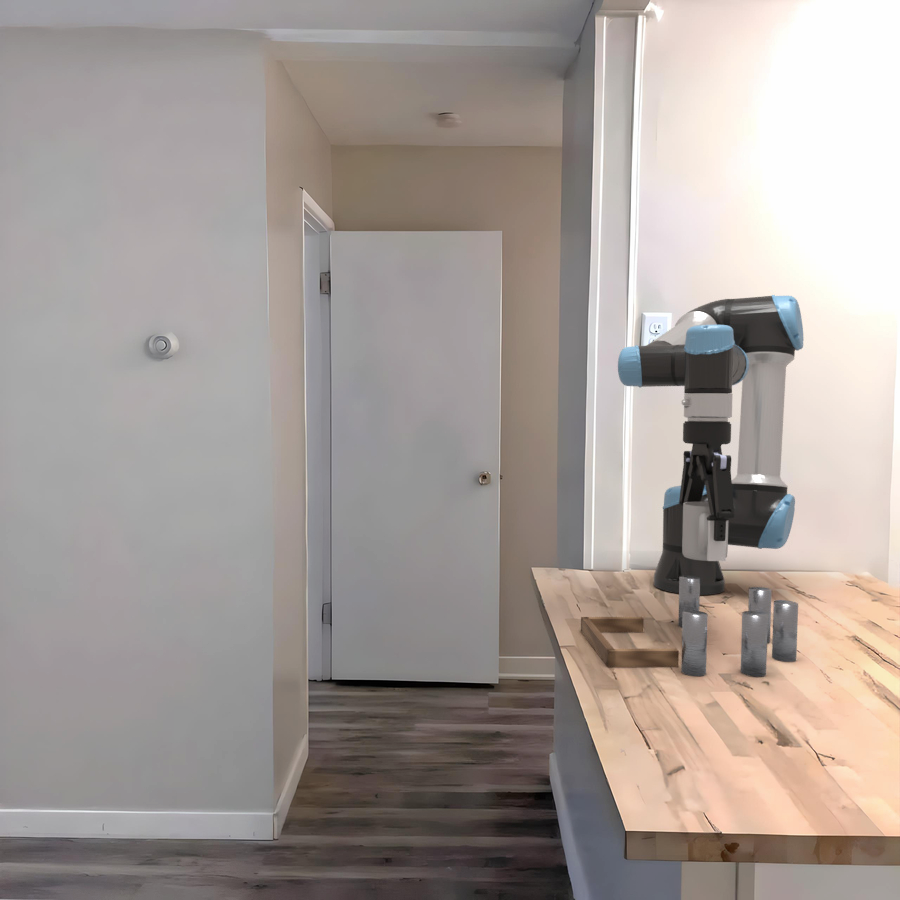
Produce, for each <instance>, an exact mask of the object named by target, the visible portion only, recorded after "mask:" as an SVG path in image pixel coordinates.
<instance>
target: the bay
mask: <svg viewBox="0 0 900 900" xmlns="http://www.w3.org/2000/svg"><path fill="white" fill-rule="evenodd" d="M644 620H645V619H644V617H643V616H581V617H580V632H582V634H583V635H584V637H585V638H586V640H587V639H588V640H587V641H588V643H591V644H590V645H591V646H592V648H593V647H594V648H593V649H594V650H595V652H596V651H597V652H596V653H597V655H598V656H599V657H600V658H601V660H602V661H603V663H604V664H605V666H606V667H607V668H665V667H666V668H668V667H669V668H672V667H673V668H674V667H677V668H678V667H679V661H680V659H679V656H680V655H679V654H680V652H679V651H680V650H679V649H677V648H676V647H675V648H671V647H670V648H669V647H668V648H667V647H666V648H659V647H658V648H614V647H613V646H612V644H611V643H610V642H609V640H608V639H607V638H606V637H605V636H604V635H603V634H602V633H644V625H645V624H644V623H645V621H644Z"/></svg>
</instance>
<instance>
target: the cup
mask: <svg viewBox="0 0 900 900" xmlns="http://www.w3.org/2000/svg"><path fill="white" fill-rule="evenodd" d="M709 515H711V514H710V509H709V503H708V502H685V503H683V538H682V553H683V555H684V557H686V558H689V559H694V560H702V561H708V560H707V547H708V520H707V517H708V516H709ZM728 548H729V545H728V521H727V528H726V558H727V557H728Z"/></svg>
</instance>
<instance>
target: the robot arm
mask: <svg viewBox="0 0 900 900" xmlns="http://www.w3.org/2000/svg"><path fill="white" fill-rule="evenodd" d="M804 338H805V337H804V327H803V317H802V313H801V308H800V305H799V302H798V300H797V298H796V297H794V296H792V295H775V294H772V295H767V296H765V295H764V296H755V297H754V296H753V297H741V298H725V299H718V300H714V301H712V302H710V301H709V302H708V303H705V304H703V305H700V306H698V307H696V308H694V309H692V310H690V311H688V312H686V313H685V314H683V315H682V316H681V317H679V319H678V320H677V321H676V323H675V325H674V327H672V328H671V329H669V330H668V331H666V332H664V333H662V334H661V335H660V336H658V337H657V338H655V339H653V341H650V343H648V344H646V345H637V344H636V345H633V346H626V347H623V348H622V349H621V350H620V353H619V356H618V360H617V372H618V378H619V380H620V382H621V384H622V385H624V386H626V387H636V388H637V387H639V388H642V387H643V388H644V387H645V388H646V387H649V388H650V387H651V388H652V387H684V388H683V390H684V391H683V393H684V394H683V398H684V399H682V400H681V405H682V406H683V417H684V418H686V419H687V421H686V420H685V421H684V423H683V425H682V426H683V427H682V441H683V443H685V444H692V446H691V447H692V448H691V450H684V451H683V467H682V475H681V482H680V483H681V484H680V485H676V486H670V487H669V488H667V489H666V490H665V492H664V497H663V506H662V510H663V516H662V517H663V518H662V519H663V520H662V525H663V526H662V551H661V555H660V557H659V560H658V563H657V566H656V568H655V572H654V575H653V586H654V587H655V588H658V589H660V590H662V591H666V592H669V593H675V594H679V577H680V576H695V577H699V578H700V596H704V595H705V596H706V595H708V596H710V595H717V594H720V593H723V592H724V591H725V585H726V584H725V583H726V582H725V577H724V573H723V570H722V568H721V564H720V562H726V558H727V557H726V528H727V521H728V546H737V547H747V548H754V549H756V548H757V549H770V550H771V549H775V550H776V549H777V550H778V549H781V548H782V547H784V546H785V545H786V543H787V542H788V539H789V536H790V533H791V529H792V525H793V521H794V516H795V506H796V505H795V504H796V498H795V496H794V495H792V494H791V493H788V485H787V484H786V483H785V481H783V479H782V478H781V467H782V451H783V450H782V449H783V448H782V447H783V431H784V430H783V429H784V428H783V427H784V414H785V413H784V411H785V410H784V409H785V396H786V395H785V393H786V377H787V376H786V375H787V373H786V372H787V367H788V365H789V364H791V363H792V362H793V361H794V360H795V352H796V351H800V350H802V349H803V348H804ZM741 382H742V383H741ZM739 383H741V399H740V400H741V402H740V414H739V415H740V418H739V419H740V420H739V437H738V438H739V439H738V454H737V469H736V475H735V477H734V478H733V479H732V468H731V467H732V455H727V454H726V455H723V452H722V445H728V444H730V443H731V440H732V439H731V438H732V423H731V422H730V421H729V419H730V418H732V417H733V386H736V385H738V384H739ZM685 502H708V503H709V509H710V514H711V515H709V516H708V517H707V520H708V547H707V560H708V561H702V560H694V559H689V558H686V557H684V555H683V553H682V538H683V503H685Z"/></svg>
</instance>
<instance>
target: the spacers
mask: <svg viewBox="0 0 900 900" xmlns="http://www.w3.org/2000/svg"><path fill="white" fill-rule="evenodd" d="M772 591H773V590H772V589H770V588H768V587H762V586H751V587H749V588H748V609H747V610H745V611H743V612H741V638H740V639H741V642H740V643H741V644H740V646H741V647H740V673H741V674H743V675H744V676H748V677H755V678H762V677H763V678H764V677H765V676H766V675H767V660H768V659H767V658H768V655H767V654H768V644H770V643H772V644H771V645H772V646H771V657H772V659H774V660H775V661H779V662H784V663H786V662H787V663H793V662H797V652H798V651H797V649H798V647H797V646H798V625H799V624H798V621H799V603H798V602H796V601H793V600H787V599H777V600H774V601H773V611H772ZM700 596H701V595H700V578H699V577H695V576H680V577H679V593H678V617H677V618H678V621H677V622H678V625H677V626H678V627H680V628H681V660H680V661H681V662H680V663H681V667H680V671H681V673H682V674H684V675H687V676H690V677H691V676H692V677H704V676H706V674H707V659H708V658H707V656H708V655H707V653H708V651H707V650H708V621H709V619H708V613H706V612H704V611H701V610H700V598H701V597H700ZM772 613H773V614H772ZM772 615H773V616H772ZM771 617H773V618H771ZM771 619H772V620H771ZM771 622H772V626H771ZM771 627H772V642H771Z"/></svg>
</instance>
